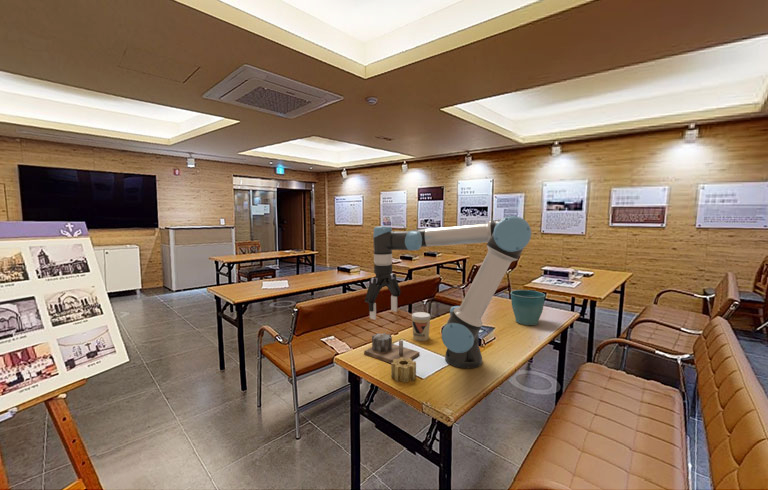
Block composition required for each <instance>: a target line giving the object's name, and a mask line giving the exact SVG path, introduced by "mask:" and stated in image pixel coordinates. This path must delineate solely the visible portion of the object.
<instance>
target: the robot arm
mask: <svg viewBox="0 0 768 490" xmlns="http://www.w3.org/2000/svg"><path fill="white" fill-rule="evenodd" d="M372 235H373V237H372V239H373V263H374V266H373V273H374V274H375V277H370V278H369V286H368V288H367V291H366V295H365V298H364V302H365V303H367V304H368V311H369V319H371V320H374V321H375V320H377V303H376V299H377V298H378V296H379V293H380V291H381V290H382V289H383V288H386V287H387V289H388V290H389V292H390V294H391V296H390V309H391V310H390V311H391V312H396V313H397V312H398V300H399V299H398V297H400V296H401V295H400V294H401V293H402V291H401V289H400V286H399V283H398V279H397V274H396V273H393V265H392V263H393V251H410V252H411V251H419V250H420V249H421V248H423V247H441V246H456V245H457V246H458V245H471V244H484V243H485V244H486V247H487V252H486V256H484V258H483V261H482V263H481V265H480V267H479V269H478V271H477V273H476V275H475V276H474V278H473V280H472V283H471V284H470V287H469V288H468V290H467V292H466V294H465V296H464V298H463V300H462V302H461V304H460V305H454V306H451V307H450V309H449V310H450V311H449V318H448V320H447V322H446V324H445V325H444V326H443V328H442V330H441V340H442V343H443V344H444V346H445V347H446V348H447V349H446V351H445V355H444V356H445V358H444V359H445V360H444V361H445V362H446V363H448V364H449V365H450V366H453V367H455V368H461V369H474V368H479V367H481V366H482V364H483V356H482V353H481V349H480V346H479V332H480V330H481V328H482V326H483V321H482V318H483V315H484V313H485V312H486V309H487V308H488V306H489V304H490V302H491V300H492V299H493V297H494V295H495V293H496V291H497V290H498V288H499V286H500V285H501V282H502V280H503V279H504V276H505V275H506V273H507V270H509V268H510V265H511V264H512V262H515V261H518V260H519V258H520V257H521V254H522V253H523V251H524V249H525V248H526V247H527V245H528V244H529V243H530V240H531V238H532V229H531V226H530V224H529V223H528V222H527V220H525V219H524V218H523V217H520V216H517V215H508V216H505V217H503V218H500V219H495V220H489V221H488V222H486V223H479V224H466V225H454V226H445V227H435V228H433V227H432V228H423V229H418V228H417V229H412V230H402V231H401V230H400V231H393V228H392V226H385V225H384V226H381V225H380V226H379V225H378V226H375V227H373V234H372Z"/></svg>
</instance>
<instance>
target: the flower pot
mask: <svg viewBox="0 0 768 490" xmlns="http://www.w3.org/2000/svg"><path fill="white" fill-rule="evenodd" d="M545 297H546V294H545V293H543V292H540V291H536V290H529V289H516V290H512V291H510V298H511V307H512V308H511V309H512V312H513V315H514V317H515V322H516V323H518V324H520V325H525V326H535V325H538V324H539V323H540V322H539V321H540V318H541V316H542V313H543V310H544V305H545V303H544V302H545Z"/></svg>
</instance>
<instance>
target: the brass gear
mask: <svg viewBox="0 0 768 490" xmlns="http://www.w3.org/2000/svg"><path fill="white" fill-rule="evenodd" d="M390 364H391V366H390V368H391V370H390V371H391V373H390V374H391V375H390V376H391V379H394V381H395V382H397V383H399V382H403V383H404V384H406V383H407V384H408V382H410V381H412V382H413V381H415V380H416V378H417V361H415V360H412V359H411V358H408V359H406V358H403V357H401V358H400V359H394V360H393V363H390Z"/></svg>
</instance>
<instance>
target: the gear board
mask: <svg viewBox="0 0 768 490" xmlns="http://www.w3.org/2000/svg"><path fill="white" fill-rule="evenodd" d="M371 345H372V346H371V347H369V348H367V349H365V350H364V351H363V354H364V355H366V356H369V357H372V358H373V359H377V360H380V361H384V362H387V363H389V364H391V363H393V360H394V359H400V358H401V357H403V358H406V359H408V358H411V359H412V361H414V360H415V359H416V358H417V357H419V356H420V354H421V353H420V351H417V350H414V349H411V348H407V347H404V340H402V339H399V340H398V345H397V344H394V343H393V337H392V335H391V334H390V333H389V334H387V333H386V332H382V333H375V334H373V335H372V336H371Z"/></svg>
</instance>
